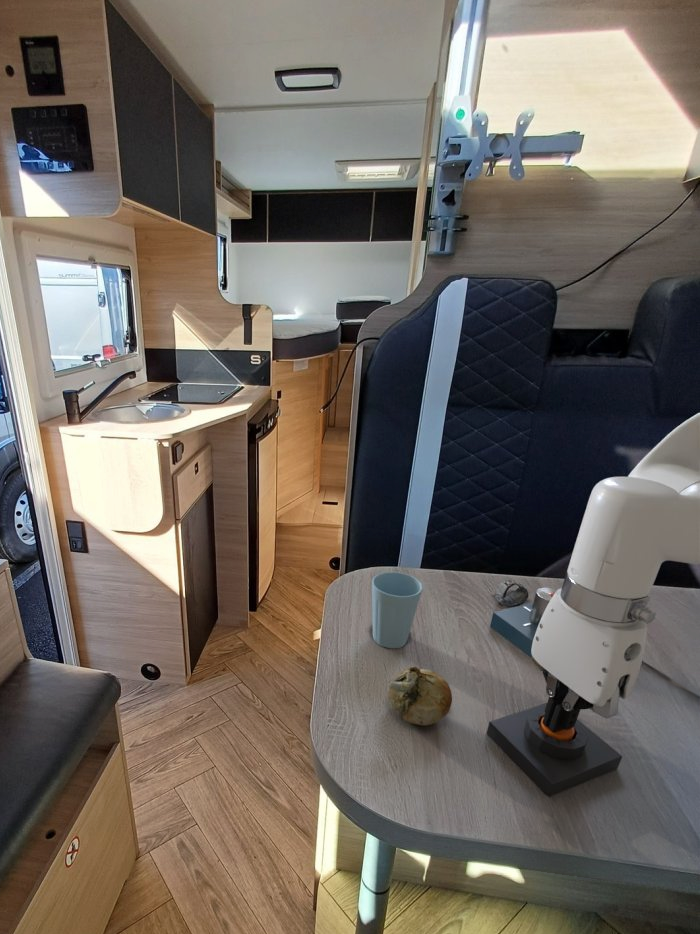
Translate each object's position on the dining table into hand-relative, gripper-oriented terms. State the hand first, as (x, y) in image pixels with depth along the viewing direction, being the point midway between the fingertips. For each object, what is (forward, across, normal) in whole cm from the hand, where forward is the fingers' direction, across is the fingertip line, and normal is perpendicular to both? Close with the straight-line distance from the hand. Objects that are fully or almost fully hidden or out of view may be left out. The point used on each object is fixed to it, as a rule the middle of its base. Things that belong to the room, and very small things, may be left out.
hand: (556, 725), depth 62 cm
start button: (+2, 0, 0) cm, 2 cm away
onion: (+5, +11, +12) cm, 17 cm away
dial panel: (+4, +19, -18) cm, 27 cm away
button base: (+4, 0, 0) cm, 4 cm away
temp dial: (+1, +19, -18) cm, 26 cm away
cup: (+5, +27, +6) cm, 28 cm away
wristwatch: (+4, +29, -21) cm, 36 cm away
